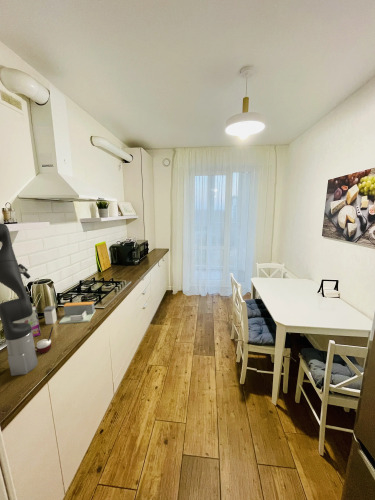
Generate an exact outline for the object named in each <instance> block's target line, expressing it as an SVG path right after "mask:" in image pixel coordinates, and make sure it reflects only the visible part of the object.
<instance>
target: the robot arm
mask: <svg viewBox="0 0 375 500" xmlns="http://www.w3.org/2000/svg"><path fill="white" fill-rule="evenodd" d="M0 243H1V247H0V283H1V284H2V285H4V286H5V287H7V288H9V289H10V290H12V291H13V293H14V294H15V295H16V296H17V297H18V298H15V299H11V300H7V301H4V302H1V303H0V322H1V324H2V329H3V334H4V339H5V344H6V348H7V354H8V356H7V361H8V367H9V369H10V375H11V376H12V377H13V376H23V375H28V373H30V372H32V371H33V369H35V368H36V367H37V365H38V363H39V362H38V357H37V352H36V351H37V350H36V348H35V347H36V345H35V340H34V337H33V334H32V328H31V325H30V324H28V323H13V322H14V321H18V320H21V319H24V318H27V317H29V316H31V315H32V313H33V309H32V307H33V305H32V302H31V300H30V297H29V295H28V292H27V290H26V286H25V285H24V282H23V277H25V278H26V279H27V280H29V279H31V275H30V274H29V273H28V271H29V269H28V268H26V266H24V265H23V264H21V263H18V260H17V258H16V254H15V252H14V248H13V245H12V244H13V243H12V240H11V235H10V229H9V226H7V225H6V224H5V223H0ZM22 275H23V277H22ZM35 350H36V351H35Z"/></svg>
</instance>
